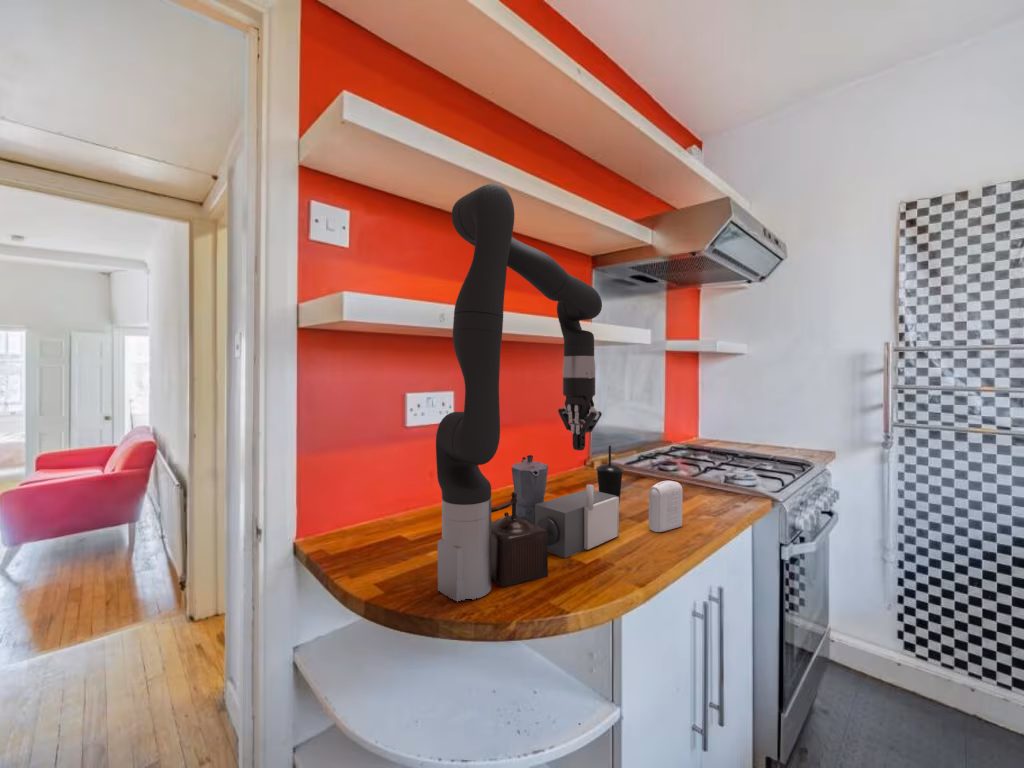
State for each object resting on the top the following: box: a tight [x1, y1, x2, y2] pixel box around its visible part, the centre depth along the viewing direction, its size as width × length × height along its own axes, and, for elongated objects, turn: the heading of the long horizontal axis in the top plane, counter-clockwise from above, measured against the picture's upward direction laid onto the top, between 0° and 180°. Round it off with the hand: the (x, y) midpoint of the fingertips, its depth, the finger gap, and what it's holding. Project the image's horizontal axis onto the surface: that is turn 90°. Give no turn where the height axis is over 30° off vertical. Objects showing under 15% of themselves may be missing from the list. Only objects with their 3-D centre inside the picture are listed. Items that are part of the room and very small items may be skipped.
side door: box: [584, 484, 620, 551], centre depth 105 cm, size 13×2×14 cm, turn 134°
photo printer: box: [648, 480, 684, 533], centre depth 116 cm, size 10×4×12 cm, turn 123°
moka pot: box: [511, 454, 549, 523], centre depth 113 cm, size 10×15×20 cm, turn 15°
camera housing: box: [535, 489, 616, 559], centre depth 106 cm, size 21×9×10 cm, turn 134°
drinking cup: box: [595, 445, 624, 504], centre depth 126 cm, size 8×8×20 cm
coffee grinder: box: [491, 491, 549, 588], centre depth 89 cm, size 16×11×18 cm
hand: (578, 449), depth 104 cm, fingers closed
